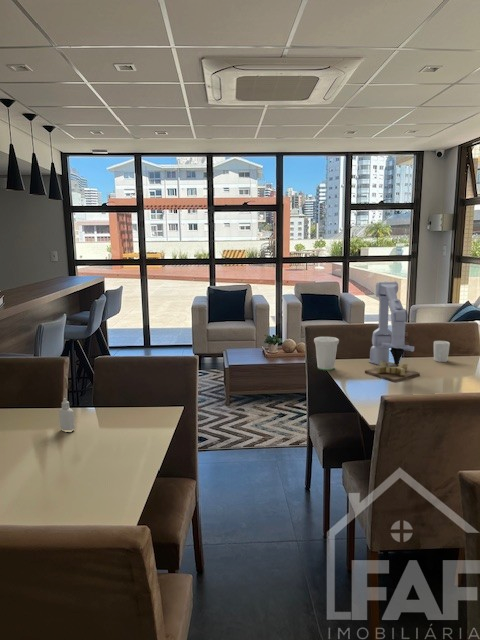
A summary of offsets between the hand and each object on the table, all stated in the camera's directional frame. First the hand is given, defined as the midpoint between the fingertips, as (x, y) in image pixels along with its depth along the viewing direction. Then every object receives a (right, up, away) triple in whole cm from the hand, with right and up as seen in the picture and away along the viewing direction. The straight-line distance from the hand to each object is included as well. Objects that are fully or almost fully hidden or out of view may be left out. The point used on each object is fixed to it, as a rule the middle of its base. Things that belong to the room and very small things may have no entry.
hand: (396, 364), depth 212 cm
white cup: (+34, -1, +32) cm, 47 cm away
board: (+1, -6, +9) cm, 11 cm away
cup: (-29, -4, +21) cm, 36 cm away
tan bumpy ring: (+1, -4, +9) cm, 10 cm away
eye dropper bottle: (-134, -19, -51) cm, 145 cm away
